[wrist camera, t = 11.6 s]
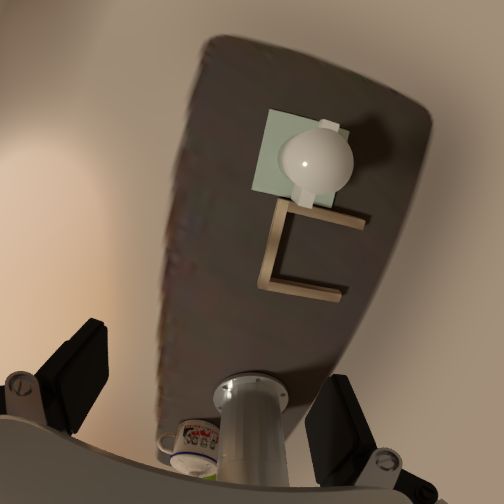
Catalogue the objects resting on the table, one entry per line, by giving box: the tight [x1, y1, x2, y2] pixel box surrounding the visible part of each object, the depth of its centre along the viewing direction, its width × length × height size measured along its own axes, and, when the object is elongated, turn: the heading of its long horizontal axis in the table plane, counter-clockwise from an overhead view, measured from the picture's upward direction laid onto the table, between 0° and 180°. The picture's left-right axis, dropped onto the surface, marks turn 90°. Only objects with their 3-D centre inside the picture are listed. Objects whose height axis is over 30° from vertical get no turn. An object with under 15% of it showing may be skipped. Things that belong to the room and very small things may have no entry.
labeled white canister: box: [277, 119, 354, 209], centre depth 28 cm, size 6×8×9 cm
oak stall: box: [257, 198, 365, 302], centre depth 35 cm, size 11×11×2 cm
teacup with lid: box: [158, 420, 220, 478], centre depth 41 cm, size 12×9×12 cm
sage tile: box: [252, 109, 349, 208], centre depth 32 cm, size 10×10×1 cm
